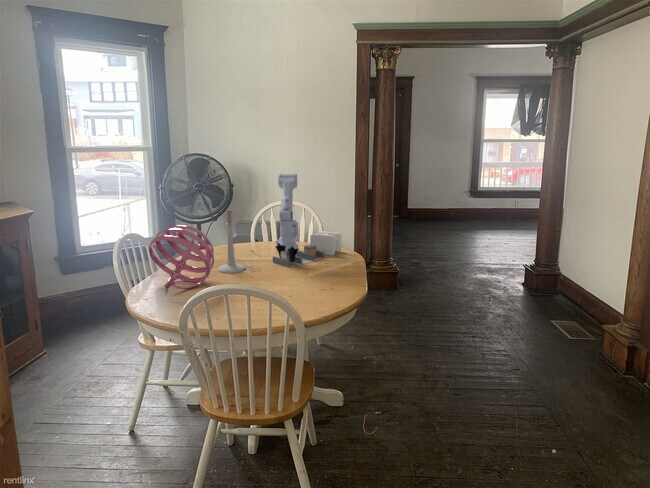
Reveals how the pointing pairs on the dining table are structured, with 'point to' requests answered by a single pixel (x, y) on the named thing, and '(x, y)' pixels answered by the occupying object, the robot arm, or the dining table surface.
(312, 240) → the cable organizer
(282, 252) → the grey rectangular block
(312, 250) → the brown and grey box
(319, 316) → the dining table surface
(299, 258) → the grey tiered rack
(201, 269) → the spiral basket
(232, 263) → the candlestick
